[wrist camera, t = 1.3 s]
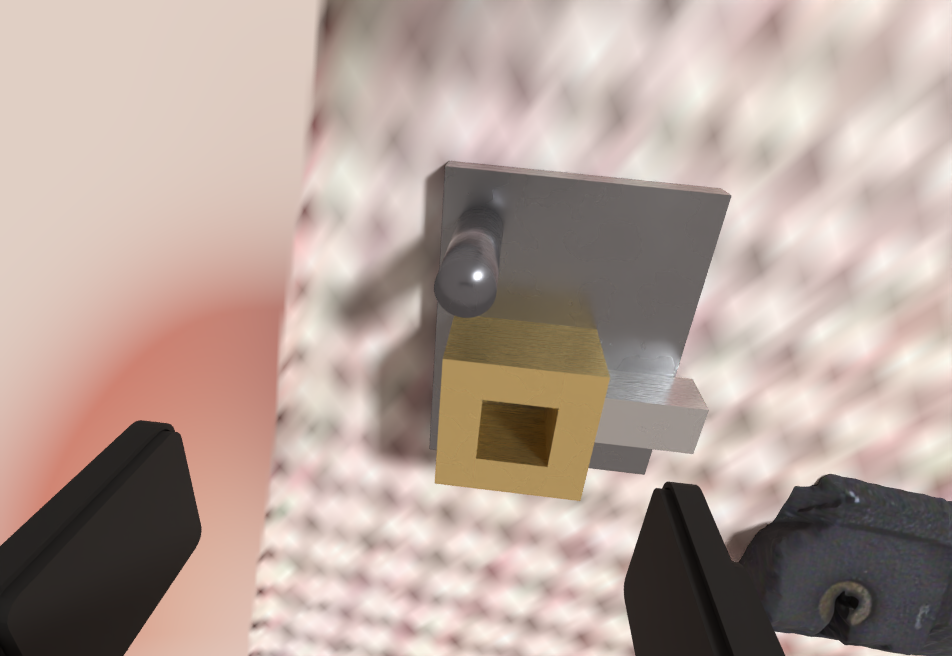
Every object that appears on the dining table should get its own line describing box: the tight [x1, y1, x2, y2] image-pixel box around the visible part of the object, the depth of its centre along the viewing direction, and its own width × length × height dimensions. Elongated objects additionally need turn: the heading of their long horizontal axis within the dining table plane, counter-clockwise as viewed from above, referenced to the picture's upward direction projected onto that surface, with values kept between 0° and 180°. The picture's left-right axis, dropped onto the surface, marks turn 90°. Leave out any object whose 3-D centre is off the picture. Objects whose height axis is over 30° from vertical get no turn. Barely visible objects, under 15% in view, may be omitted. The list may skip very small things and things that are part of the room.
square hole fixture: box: [430, 161, 731, 501], centre depth 28 cm, size 18×15×6 cm
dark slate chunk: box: [739, 474, 952, 656], centre depth 36 cm, size 15×22×5 cm
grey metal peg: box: [434, 206, 503, 318], centre depth 23 cm, size 2×2×8 cm
